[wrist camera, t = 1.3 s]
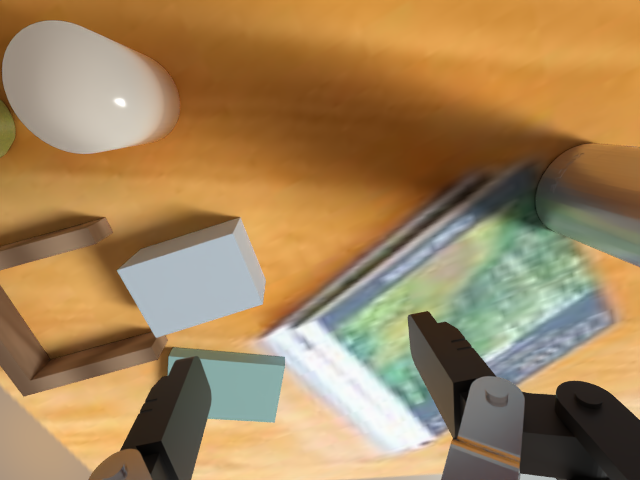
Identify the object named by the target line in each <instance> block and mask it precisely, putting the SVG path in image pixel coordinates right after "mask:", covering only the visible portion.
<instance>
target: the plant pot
mask: <svg viewBox="0 0 640 480" xmlns="http://www.w3.org/2000/svg"><path fill="white" fill-rule="evenodd" d="M15 134H16V131H15V124H14V121H13V118H12V116H11V113H10V112H9V110H8V108H7V107H6V105H5V104H4V103H3V102H2V101H1V99H0V157H2V156H4V155H5V154H6V153H7V151H8V150H9V148H10V146H11V145H12V143H13V141H14V140H15Z"/></svg>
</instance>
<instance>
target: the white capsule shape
mask: <svg viewBox="0 0 640 480" xmlns="http://www.w3.org/2000/svg"><path fill="white" fill-rule="evenodd" d="M2 79H3V85H4V90H5V93H6V96H7V98H8V101H9V103H10V105H11V107H12V109H13V110H14V112H15V113H16V115H17V116H18V118H19V119H20V120H21V122H22V123H23V124H24V125H25V126H26V127H27V128H28V129H29V130H30V131H31V132H32V133H33V134H34V135H36V136H37V137H38V138H40V139H41V140H43V141H44V142H46V143H48V144H49V145H51V146H53V147H56V148H58V149H60V150H64V151H67V152H72V153H78V154H91V153H97V152H103V151H108V150H114V149H120V148H125V147H131V146H136V145H142V144H147V143H152V142H156V141H159V140H161V139H163V138H164V137H165V136H167V135H168V134H169V133H170V132H171V131H172V130H173V128H174V127H175V125H176V123H177V121H178V118H179V113H180V98H179V93H178V90H177V87H176V85H175V83H174V81H173V79H172V78H171V76H170V75H169V73H168V72H167V71H166V70H165V69H164V68H163V67H162V66H161V65H160V64H159V63H158V62H156V61H155V60H153V59H152V58H150V57H148V56H146V55H144V54H141V53H139V52H137V51H135V50H133V49H130V48H128V47H126V46H124V45H122V44H119V43H117V42H115V41H113V40H110V39H108V38H106V37H104V36H102V35H99V34H97V33H95V32H93V31H91V30H88V29H86V28H84V27H82V26H79V25H76V24H74V23H69V22H65V21H57V20H50V21H42V22H37V23H34V24H31V25H29V26H27V27H26V28H24V29H22V30H21V31H20V32H19V33H17V34H16V35H15V37H14V38H13V39H12V40H11V42H10V43H9V45H8V47H7V49H6V52H5V54H4V58H3V63H2Z"/></svg>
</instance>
